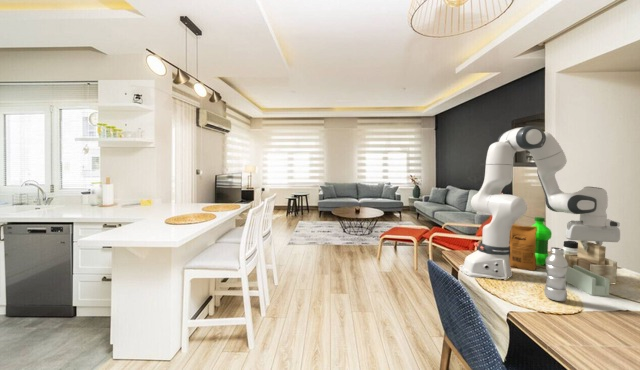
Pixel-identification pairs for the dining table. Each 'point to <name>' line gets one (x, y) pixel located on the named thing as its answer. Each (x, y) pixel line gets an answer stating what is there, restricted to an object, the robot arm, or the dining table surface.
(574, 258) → the offcut top
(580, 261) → the offcut tall
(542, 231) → the plastic bottle
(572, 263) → the offcut low
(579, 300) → the dining table surface
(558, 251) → the plastic bottle
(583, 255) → the light wood flat panel
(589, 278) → the stand
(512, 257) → the coffee package
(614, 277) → the box
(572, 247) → the medicine bottle
